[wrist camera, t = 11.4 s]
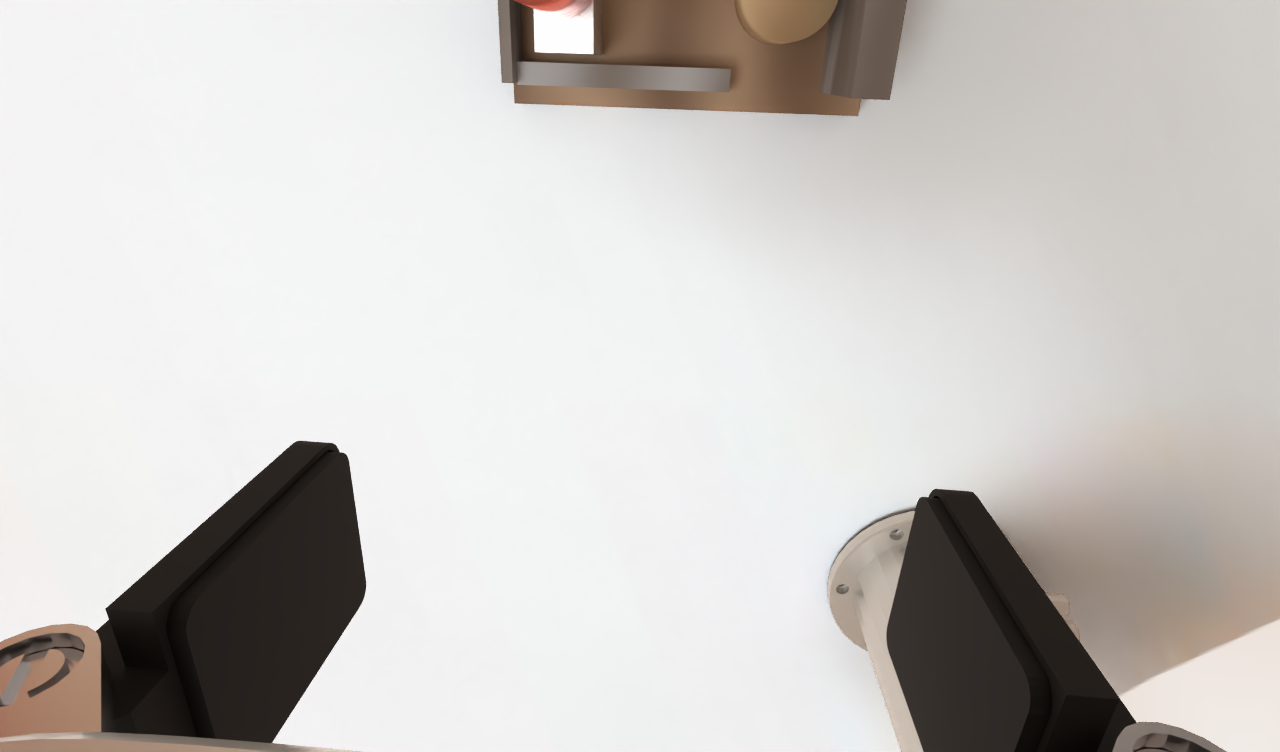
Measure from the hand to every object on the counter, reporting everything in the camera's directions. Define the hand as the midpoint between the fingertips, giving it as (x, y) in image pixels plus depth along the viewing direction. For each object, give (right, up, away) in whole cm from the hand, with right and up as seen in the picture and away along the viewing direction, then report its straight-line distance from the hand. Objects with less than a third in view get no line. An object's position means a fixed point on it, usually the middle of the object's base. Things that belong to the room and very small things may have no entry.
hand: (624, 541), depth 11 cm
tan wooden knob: (+7, +20, +20) cm, 29 cm away
